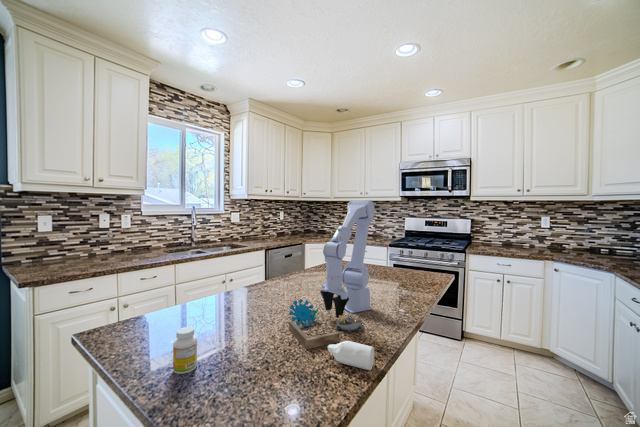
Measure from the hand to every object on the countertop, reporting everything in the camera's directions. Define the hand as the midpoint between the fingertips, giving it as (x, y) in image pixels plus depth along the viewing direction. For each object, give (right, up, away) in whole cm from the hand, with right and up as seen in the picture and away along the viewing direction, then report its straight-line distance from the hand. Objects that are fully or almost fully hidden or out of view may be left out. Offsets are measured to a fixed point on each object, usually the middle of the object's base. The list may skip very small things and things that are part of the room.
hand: (333, 313), depth 100 cm
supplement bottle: (-39, -4, -29) cm, 49 cm away
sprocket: (+5, -3, -4) cm, 7 cm away
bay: (-7, -3, -11) cm, 13 cm away
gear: (-11, -3, -1) cm, 11 cm away
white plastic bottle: (+3, -4, -26) cm, 27 cm away
